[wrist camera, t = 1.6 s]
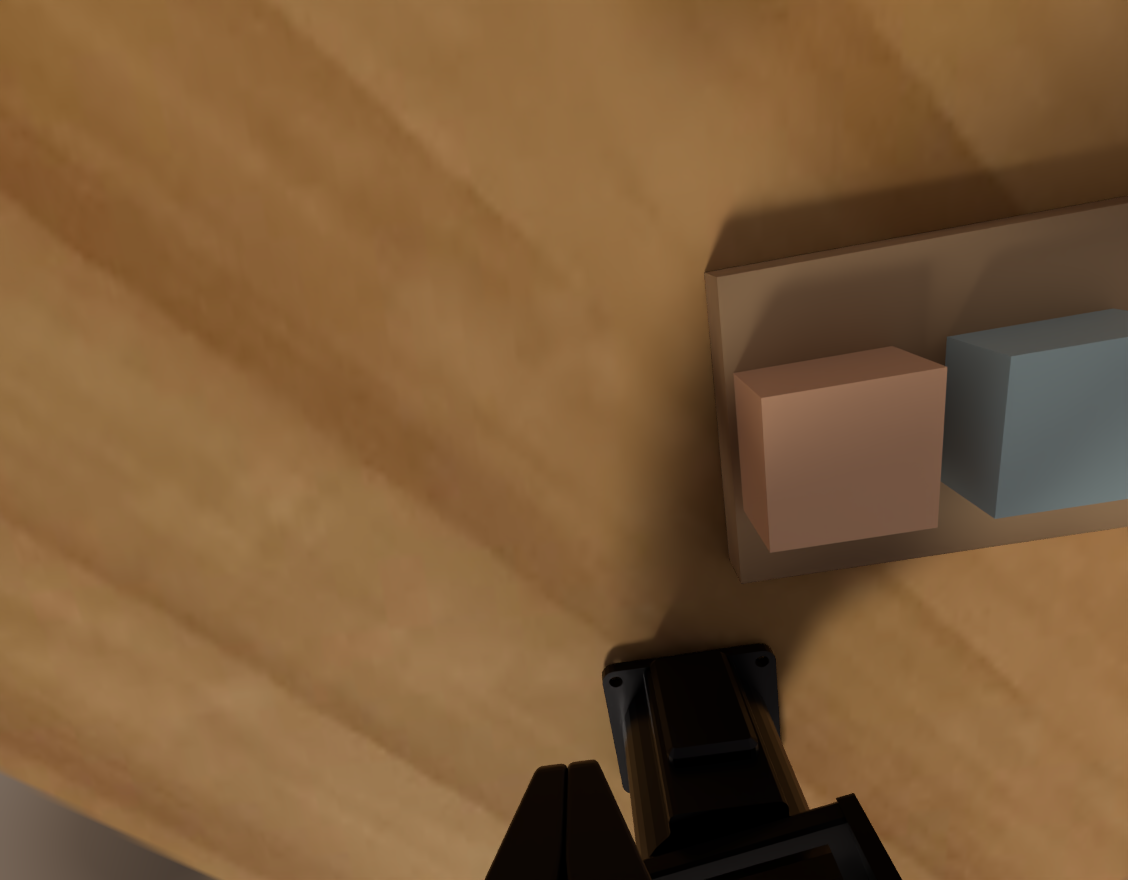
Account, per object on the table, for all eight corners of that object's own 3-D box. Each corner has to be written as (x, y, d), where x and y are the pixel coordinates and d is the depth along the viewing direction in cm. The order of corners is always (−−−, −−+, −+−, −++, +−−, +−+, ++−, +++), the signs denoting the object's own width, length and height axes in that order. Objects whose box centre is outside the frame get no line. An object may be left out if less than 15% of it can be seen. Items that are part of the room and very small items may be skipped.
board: (1139, 497, 20) (1183, 518, 18) (729, 559, 21) (741, 583, 19) (1202, 182, 16) (1262, 178, 15) (704, 272, 17) (717, 277, 16)
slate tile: (1089, 456, 18) (1170, 492, 15) (938, 479, 18) (994, 518, 16) (1113, 308, 16) (1207, 323, 14) (946, 336, 16) (1011, 356, 14)
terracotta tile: (888, 487, 18) (937, 527, 16) (743, 510, 18) (770, 552, 16) (892, 346, 16) (948, 367, 14) (733, 373, 17) (761, 397, 14)
